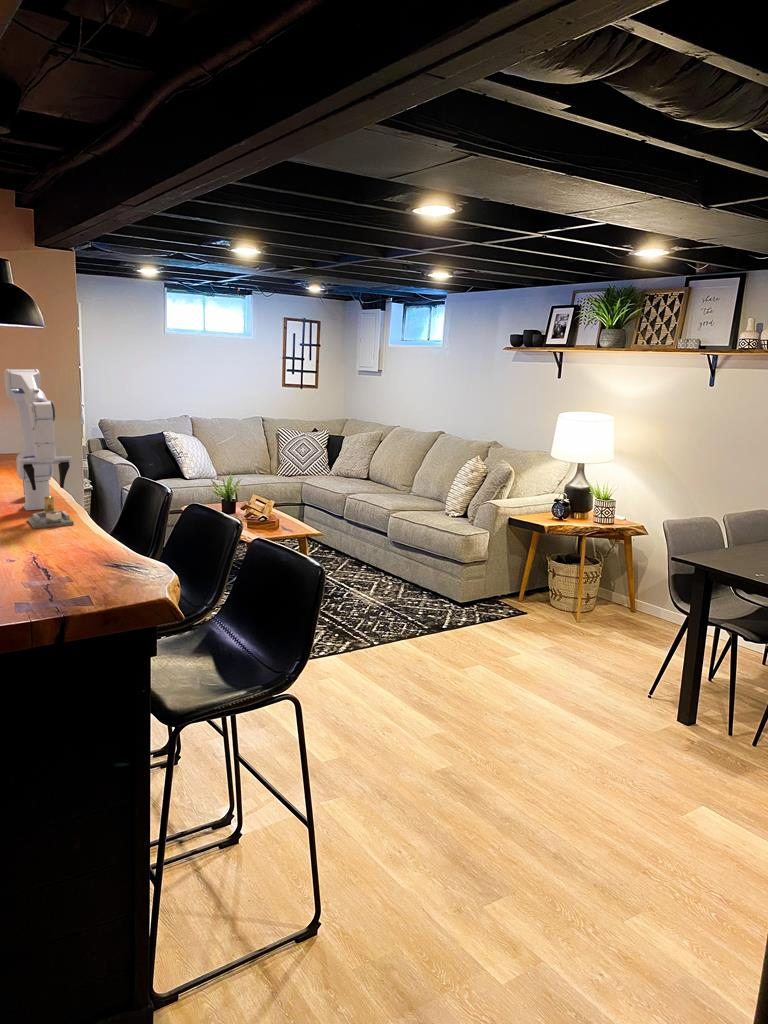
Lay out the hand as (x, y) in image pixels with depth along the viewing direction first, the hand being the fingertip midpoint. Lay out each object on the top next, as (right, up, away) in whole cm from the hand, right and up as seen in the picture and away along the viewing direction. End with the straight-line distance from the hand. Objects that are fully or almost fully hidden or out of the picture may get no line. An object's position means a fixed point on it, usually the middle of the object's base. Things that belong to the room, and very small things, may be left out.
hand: (48, 488), depth 227 cm
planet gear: (0, -8, +2) cm, 9 cm away
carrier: (+4, -10, -7) cm, 13 cm away
